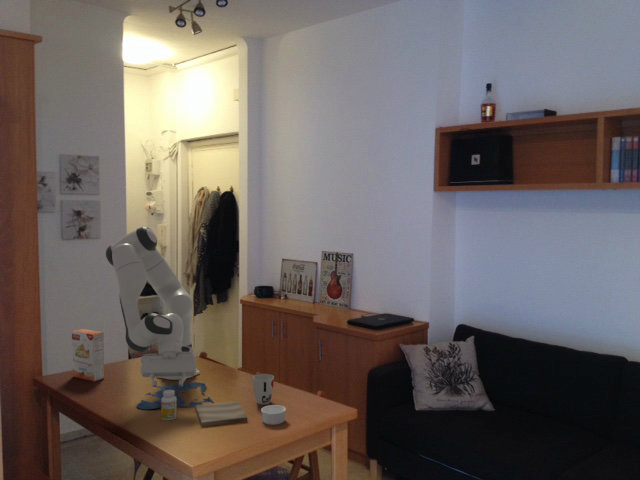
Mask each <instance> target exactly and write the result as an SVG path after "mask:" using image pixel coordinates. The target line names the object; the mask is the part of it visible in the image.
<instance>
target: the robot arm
mask: <svg viewBox="0 0 640 480" xmlns="http://www.w3.org/2000/svg"><path fill="white" fill-rule="evenodd" d="M157 245H158V238H157V236H156V233H155V232H154V231H153V230H152V229H151V228H149V226H148V227H147V226H142V227H138V228H136V230H132V231H131V232H129V233H127V234H125V235H123V237H121V238H120V239H118V240H117V241H115V242H114V243H111V244H110V245H109V246H108V247H107V248H106V251H105V257H106V260H107V262H109V264H110V265H111V266H112V267H113V269H114V272H115V275H116V277H117V282H118V287H119V289H118V290H119V291H118V292H119V304H120V308H121V314H122V318H123V322H124V326H125V341H126V343H127V346H128V347H129V348H130V349H131V350H133V351H135V352H139V353H142V352H143V353H144V352H147V351H148V350H149V348H150V347H151V346H152V345H153V344H154V343H156V342H157V343H158V352H152V353H151V352H148V353H146V354H143V355H142V356H141V359H140V360H141V362H140V363H141V366H140V376H141V377H142V378H149V379H150V381H151V383H152V384H151V386H152V388H157V386H158V385H157V384H158V382H157V380H155V378H158V379H159V378H160V379H165V380H171V381H172V380H173V381H174V380H175V381H176V380H178V384H179V386H183V383H185V381H186V379H190V378H192V377H194V376H197V375H200V374H201V372H200V370H198V369H197V363H196V362H197V360H196V359H197V358H196V355H194V354H195V353H194V352H195V351H194V349H193V343H192V340H191V339H192V318H193V304H194V303H193V299H192V296H191V295H190V294H189V293H188V292H187V290H186V289H185V288H184V286H183V285H182V283H181V281H179V280H180V279H179V278H178V277H177V275H176V274H175V272H174V271H173V269H172V268H171V267H170V265H169V263H168V262H167V261H166V259H165V257H164V256H163V255H162V253H161V252H160V251H159V250H158V249H157ZM147 282H148V283H149V284H150V286H151V287H152V289H153V290H154V291H155V293H156V294H157V296H158V297H159V299H160V301H161V302H162V304H163V305H164V306H165V308H166V314H163V315H162V314H159V313H155V312H151V313H149V314H147V315H146V316H145V317H143V318H142V319H141V315H140V311H139V306H138V303H139V300H140V296H141V294H142V292H143V290H144V288H145V286H146V284H147Z"/></svg>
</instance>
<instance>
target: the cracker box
mask: <svg viewBox="0 0 640 480" xmlns="http://www.w3.org/2000/svg"><path fill="white" fill-rule="evenodd" d="M71 345H72V346H71V350H72V351H71V354H72V355H71V358H72V359H71V360H72V377H73V378H76V379H80V380H86V381H89V382H98V381H100V380H103V379H105V359H104V358H105V357H104V356H105V355H104V354H105V351H104V350H105V349H104V347H105V346H104V345H105V343H104V332H103V331H96V330H93V329H86V328H79V329H74V330H72V331H71Z"/></svg>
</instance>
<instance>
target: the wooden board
mask: <svg viewBox="0 0 640 480" xmlns="http://www.w3.org/2000/svg"><path fill="white" fill-rule="evenodd" d="M203 404H204V405H195V407H194V409H195V412H196V415H197V417H198V421H199V423H200V426H201V427H210V426H219V425H227V424H228V425H229V424H236V423H238V424H239V423H247V422H248V415H247V414H246V412H245V411H244V409H243V407H242V405H241V404H240V403H239V401H238V400H235V401H234V400H233V401H224V402H217V403H213V404H212V403H206V404H205V403H203Z"/></svg>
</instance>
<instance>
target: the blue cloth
mask: <svg viewBox="0 0 640 480" xmlns="http://www.w3.org/2000/svg"><path fill="white" fill-rule="evenodd" d="M156 388H157V389H156V390H158V391H156V392H155V391H154V394H153V393H151V392H148V393H146V394H145V396H151V397H156V398H158V399H159V400H153V401H147V400H144V399H141V402H139V403H137V405H136V407H137V408H138V409H140V410H153V409H154V410H155V409H161V399H162V397H164V396H163V391H165V390H174V391H175V395H174V396H175V397H176V398H177V407H180V408H195V405H204V404H205V403H211V404H214V401H213V400H212V399H211V397H209V396H207V398H202V400H203V401H198V399H197V398H196V399H195V398H194V399H193V400H192V401H189V402H187V401H186V400H185V399H184V398H183V397H184V395H183V394H186V392H187V391H190V390H192V389H195V390H196V389H198V388H200V390H199V392H201V393H200V394H201V395H202V396H204V397H206V394H205V393H204V392H205V391H206V389H207V388H208V387H207V386H206V383H203V382H197V381H192V382H183V386H179V383H175V384H166V385H157V387H156ZM182 391H183V392H182ZM185 391H186V392H185ZM194 392H196V391H194ZM186 404H187V405H186Z"/></svg>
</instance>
